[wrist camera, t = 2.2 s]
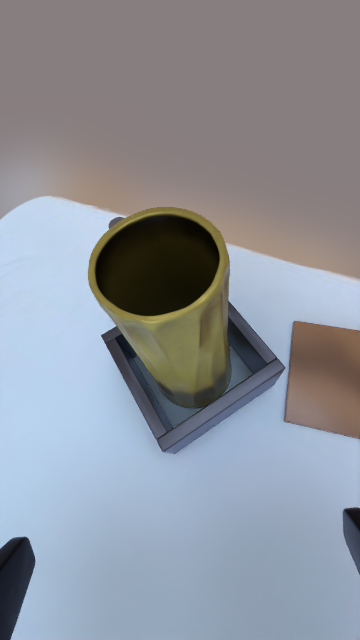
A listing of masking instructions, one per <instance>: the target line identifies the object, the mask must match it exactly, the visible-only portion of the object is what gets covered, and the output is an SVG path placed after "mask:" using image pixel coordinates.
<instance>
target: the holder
mask: <svg viewBox="0 0 360 640" xmlns="http://www.w3.org/2000/svg"><path fill="white" fill-rule="evenodd" d="M123 219H125V218H122V217H117V218H114V219H113V220H111V222H110V223H109V229H111V228H112V227H113V226H114V225H116V224H117V223H118V222H120V221H121V220H123ZM227 336H228V342H229V343H230V345H231V346H232V347H233V349H234V350H235V351H236V352H237V354H238V355H239V356H240V357H241V359H242V360H243V361H244V363H245V364H246V365H247V366H248V368H249V369H250V370H251V372H252V373H253V375H251V376H250V377H248V378H247V379H245V380H244V381H243V382H241V383H240V384H238V385H237V386H235V387H234V388H232V389H231V390H229V391H228V392H226V393H225V394H223V395H222V396H220V397H219V398H217V399H216V400H215V401H213V402H212V403H210V404H209V405H207V406H206V407H204V408H203V409H201V410H200V411H198V412H197V413H195V414H194V415H192V416H191V417H190V418H188V419H187V420H185V421H184V422H182V423H181V424H179V425H178V426H176V427H175V428H172V426H171V424H170V422H169V421H168V419H167V417H166V415H165V413H164V412H163V410H162V408H161V406H160V405H159V403H158V401H157V399H156V398H155V396H154V394H153V392H152V391H151V389H150V387H149V385H148V384H147V382H146V380H145V378H144V377H143V375H142V373H141V371H140V370H139V368H138V366H137V364H136V363H135V361H134V359H133V357H135V356H136V355H137V354H136V352H135V351H134V349H133V348H132V346H131V345H130V344H129V342H128V341H127V340H126V338H125V337H124V335H123V334H122V332H121V331H120V330H119V328H118V327H117V326H116V327H114V328H113V329H111V330H109V331H108V332H106V333H104V334H103V335H101V337H102V338H103V340H104V342H105V344H106V346H107V348H108V350H109V352H110V354H111V355H112V357H113V359H114V361H115V363H116V365H117V367H118V369H119V371H120V372H121V374H122V376H123V378H124V380H125V382H126V384H127V386H128V387H129V389H130V391H131V393H132V395H133V397H134V399H135V401H136V403H137V404H138V406H139V408H140V410H141V412H142V414H143V416H144V418H145V420H146V421H147V423H148V425H149V427H150V429H151V431H152V433H153V435H154V437H155V438H156V440H157V442H158V444H159V446H160V448H161V450H162V451H163V452H167V453H174V454H175V453H177V452H178V451H180V450H181V449H182V448H184V447H185V446H187V445H188V444H190V443H191V442H193V441H194V440H195V439H197V438H198V437H200V436H201V435H203V434H204V433H205V432H207V431H208V430H210V429H211V428H213V427H214V426H216V425H217V424H218V423H220V422H221V421H223V420H224V419H226V418H227V417H229V416H230V415H231V414H233V413H234V412H236V411H237V410H239V409H240V408H242V407H243V406H244V405H246V404H247V403H249V402H250V401H252V400H253V399H255V398H256V397H257V396H259V395H260V394H262V393H263V392H265V391H266V390H267V389H269V388H270V387H272V386H273V385H274V384H275V383H276V381H277V380H278V378H279V377H280V375H281V374H282V372H283V371H284V369H285V366H284V365H283V364H282V363H281V362H280V360H279V359H278V358H277V357H276V356H275V355H274V353H273V352H272V351H271V350H270V349H269V348H268V346H267V345H266V344H265V343H264V342H263V340H262V339H261V338H260V337H259V336H258V335H257V333H256V332H255V331H254V330H253V329H252V328H251V326H250V325H249V324H248V323H247V322H246V321H245V319H244V318H243V317H242V316H241V315H240V314H239V312H238V311H237V310H236V309H235V308H234V307H233V305H232V304H231V303H230V302H229V301H228V326H227Z"/></svg>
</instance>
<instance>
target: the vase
mask: <svg viewBox="0 0 360 640" xmlns="http://www.w3.org/2000/svg"><path fill="white" fill-rule="evenodd" d="M229 275H230V261H229V255H228V252H227V248H226V245H225V242H224V240H223V237H222V235H221V233H220V231H219V230H218V229H217V228H216V227H215V226H214V225H213V224H212V223H211V222H210V221H209V220H207V219H206V218H204V217H203V216H201V215H199V214H197V213H195V212H192V211H189V210H186V209H181V208H174V207H157V208H151V209H146V210H144V211H141V212H138V213H135V214H133V215H131V216H129V217H127V218H125V219H123V220H121V221H120V222H118V223H117V224H116V225H114V226H113V227H112V228H111V229H109V230H108V231H107V232H106V233H105V234H104V235H103V236H102V237H101V238H100V240H99V241H98V242H97V244H96V246H95V247H94V249H93V251H92V253H91V257H90V260H89V268H88V281H89V286H90V288H91V291H92V293H93V294H94V296H95V298H96V299H97V301H98V303H99V305H100V306H101V307H102V309H103V310H104V311H105V312H106V313H107V314H108V315H109V316H110V318H111V319H112V320H113V322H114V323H115V324H116V326H117V327H118V328H119V330H120V331H121V332H122V334H123V335H124V337H125V338H126V340H127V341H128V342H129V344H130V345H131V346H132V348H133V349H134V351H135V352H136V354H137V355H138V356H139V358H140V359H141V360H142V362H143V363H144V365H145V366H146V368H147V369H148V371H149V372H150V373H151V375H152V376H153V377H154V379H155V380H156V382H157V383H158V386H159V388H160V390H161V391H162V393H163V394H164V395H165V396H166V397H167V398H168V399H169V400H171V401H172V402H174V403H175V404H177V405H180V406H183V407H189V408H197V407H202V406H205V405H208V404H210V403H212V402H213V401H215V400H216V399H217V398H219V397H220V396H221V394H222V393H223V392H224V391H225V390H226V388H227V387H228V385H229V382H230V378H231V373H232V367H231V361H230V354H229V344H228V336H227V326H228V295H229Z"/></svg>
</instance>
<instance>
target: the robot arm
mask: <svg viewBox="0 0 360 640" xmlns="http://www.w3.org/2000/svg"><path fill="white" fill-rule="evenodd" d="M343 532H344V537H345V541H346V544H347V546H348V548H349V551H350V553H351V555H352V558H353V560H354V563H355V565H356V567H357V570H358V572H359V574H360V508H345V509H344V510H343ZM34 566H35V556H34V553H33V550H32V547H31V544H30V541H29V539H28V538H27V537H15V538H12V539H11V540H10V541H8V542H7V543H6V544H5V545H4V546H3V547H2V548H1V549H0V640H10V639H11V636H12V633H13V631H14V628H15V625H16V622H17V619H18V616H19V613H20V610H21V607H22V604H23V600H24V597H25V594H26V591H27V588H28V585H29V582H30V579H31V576H32V573H33V570H34Z"/></svg>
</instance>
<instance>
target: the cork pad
mask: <svg viewBox="0 0 360 640" xmlns="http://www.w3.org/2000/svg"><path fill="white" fill-rule="evenodd" d="M284 421H285V422H289V423H293V424H298V425H302V426H306V427H311V428H315V429H319V430H324V431H328V432H332V433H336V434H341V435H345V436H349V437H354V438H358V439H360V331H358V330H352V329H345V328H339V327H332V326H326V325H319V324H313V323H306V322H300V321H294V323H293V332H292V343H291V354H290V364H289V375H288V386H287V397H286V407H285V418H284Z"/></svg>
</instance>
